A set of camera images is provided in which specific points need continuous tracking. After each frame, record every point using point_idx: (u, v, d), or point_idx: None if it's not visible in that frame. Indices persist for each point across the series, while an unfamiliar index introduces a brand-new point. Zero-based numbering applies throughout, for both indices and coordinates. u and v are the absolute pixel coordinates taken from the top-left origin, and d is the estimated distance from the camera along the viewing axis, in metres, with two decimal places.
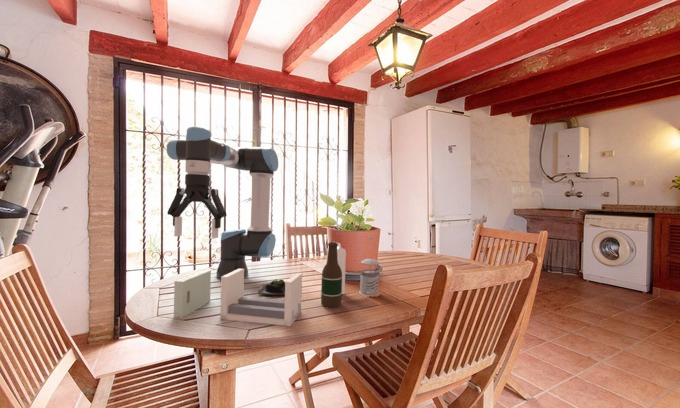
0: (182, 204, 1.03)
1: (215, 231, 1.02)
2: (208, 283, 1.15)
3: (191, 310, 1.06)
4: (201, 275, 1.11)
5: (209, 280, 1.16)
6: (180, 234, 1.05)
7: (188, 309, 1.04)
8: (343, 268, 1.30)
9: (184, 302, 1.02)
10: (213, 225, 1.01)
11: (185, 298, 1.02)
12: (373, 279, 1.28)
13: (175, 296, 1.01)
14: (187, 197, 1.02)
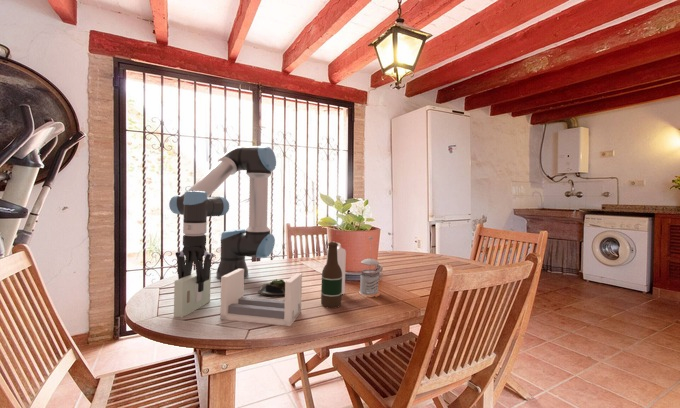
0: (186, 267, 1.08)
1: (198, 294, 1.08)
2: (208, 283, 1.15)
3: (191, 310, 1.06)
4: None
5: (209, 280, 1.16)
6: None
7: (188, 309, 1.04)
8: (343, 268, 1.30)
9: (184, 302, 1.02)
10: (196, 289, 1.07)
11: (184, 298, 1.02)
12: (373, 279, 1.28)
13: (175, 296, 1.01)
14: (187, 258, 1.07)
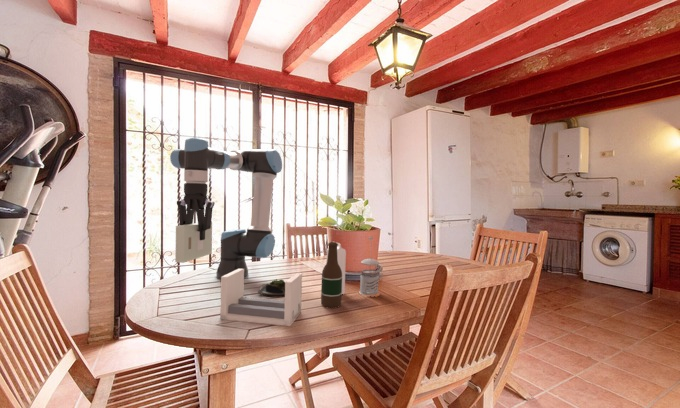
0: (188, 215, 1.07)
1: (200, 243, 1.08)
2: (210, 234, 1.15)
3: (193, 257, 1.05)
4: None
5: (210, 232, 1.15)
6: None
7: (190, 256, 1.04)
8: (343, 268, 1.30)
9: (185, 247, 1.01)
10: (198, 237, 1.07)
11: (186, 244, 1.02)
12: (373, 279, 1.28)
13: (176, 241, 1.01)
14: (188, 206, 1.07)
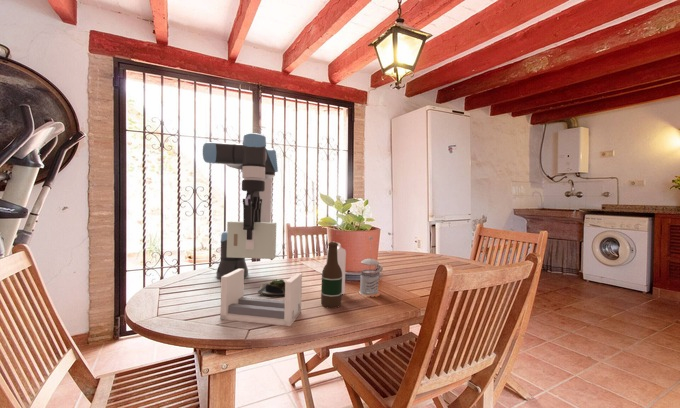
0: None
1: (249, 242, 1.02)
2: (270, 237, 1.03)
3: (240, 255, 1.03)
4: (257, 224, 1.03)
5: (271, 234, 1.03)
6: None
7: (236, 253, 1.03)
8: (343, 268, 1.30)
9: (230, 243, 1.03)
10: (246, 236, 1.03)
11: (230, 239, 1.03)
12: (373, 279, 1.28)
13: None
14: None
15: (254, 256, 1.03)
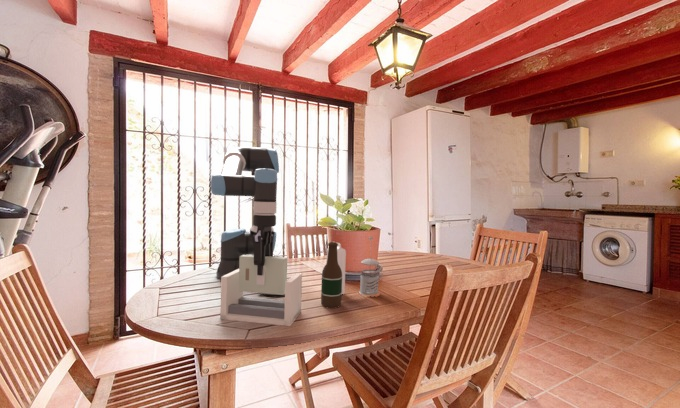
0: None
1: (259, 277, 1.02)
2: (280, 272, 1.02)
3: (252, 290, 1.04)
4: (267, 259, 1.02)
5: (282, 270, 1.02)
6: None
7: (248, 287, 1.04)
8: (343, 268, 1.30)
9: (242, 277, 1.04)
10: None
11: (242, 274, 1.04)
12: (373, 279, 1.28)
13: None
14: None
15: (265, 291, 1.03)
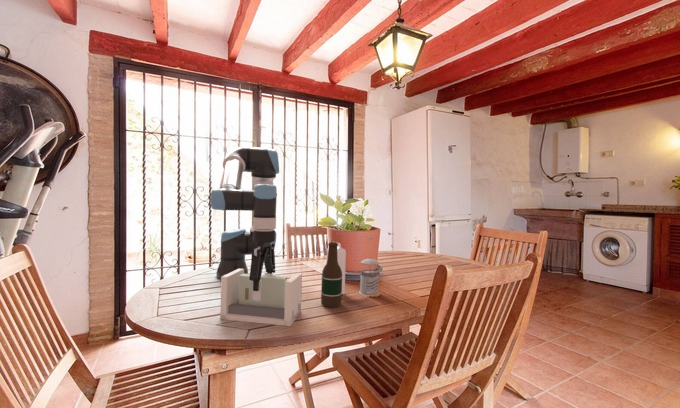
0: None
1: (255, 293, 1.00)
2: (280, 292, 1.02)
3: None
4: (267, 279, 1.03)
5: (281, 289, 1.02)
6: None
7: None
8: (343, 268, 1.30)
9: (241, 296, 1.04)
10: None
11: (242, 293, 1.04)
12: (373, 279, 1.28)
13: None
14: None
15: None
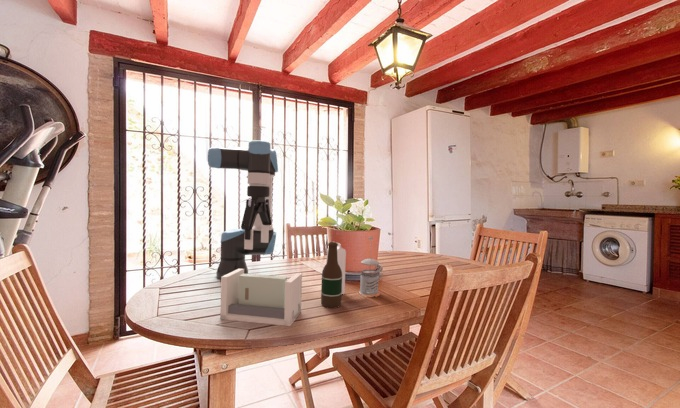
0: None
1: (247, 242, 1.01)
2: (280, 292, 1.02)
3: None
4: (267, 279, 1.03)
5: (281, 289, 1.02)
6: (266, 241, 1.14)
7: None
8: (343, 268, 1.30)
9: (241, 296, 1.04)
10: (245, 236, 1.01)
11: (242, 293, 1.04)
12: (373, 279, 1.28)
13: None
14: None
15: None
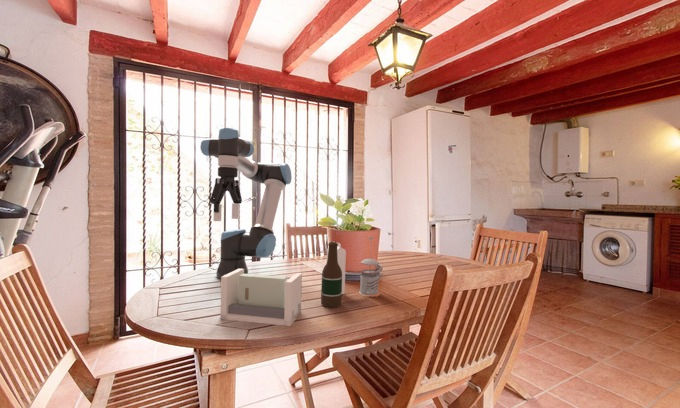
0: None
1: (216, 215, 1.16)
2: (280, 292, 1.02)
3: None
4: (267, 279, 1.03)
5: (281, 289, 1.02)
6: (236, 217, 1.30)
7: None
8: (343, 268, 1.30)
9: (241, 296, 1.04)
10: (214, 209, 1.17)
11: (242, 293, 1.04)
12: (373, 279, 1.28)
13: None
14: None
15: None
